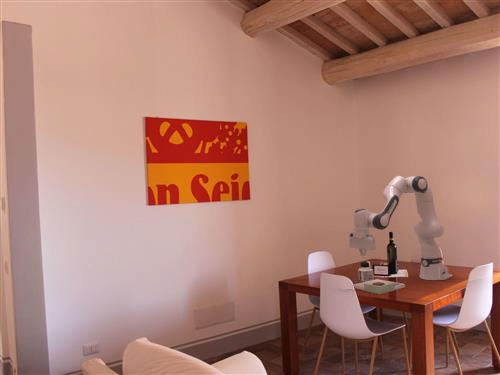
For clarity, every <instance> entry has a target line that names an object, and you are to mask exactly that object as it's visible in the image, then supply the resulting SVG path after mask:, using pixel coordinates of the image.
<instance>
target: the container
mask: <svg viewBox="0 0 500 375" xmlns="http://www.w3.org/2000/svg"><path fill="white" fill-rule="evenodd" d="M359 265H360V268H358V270H357V272H358V280H359V281H361V282H367V281H371V280H375V279H374V278H375V277H374V269H373V268H371V262H370V261H367V260H366V261H365V260H364V261H360V264H359Z"/></svg>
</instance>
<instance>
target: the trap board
mask: <svg viewBox="0 0 500 375" xmlns="http://www.w3.org/2000/svg"><path fill="white" fill-rule="evenodd" d="M376 282H381V283H384V285H382V286H376V285H373V283H376ZM353 285H354V287H355V288H354V289H357V290H361V291H364V292H367V293H373V294H378V295H382V294H386V293H391V292H394V291H396V290H400V289H404V288H406V284H405V283H400V282H395V281H389V280H384V279H378V278H377V279H374V280H371V281H367V282H363V281H361V282H359V283H354V284H353Z"/></svg>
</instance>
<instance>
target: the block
mask: <svg viewBox="0 0 500 375" xmlns="http://www.w3.org/2000/svg"><path fill="white" fill-rule="evenodd" d="M373 285H376V286H382V285H384V283H381V282H376V283H373Z"/></svg>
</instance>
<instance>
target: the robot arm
mask: <svg viewBox="0 0 500 375" xmlns="http://www.w3.org/2000/svg"><path fill="white" fill-rule="evenodd" d="M404 193H405V194H406V193H407V194H414V195H415V202H416V204H415V205H416V210H417V212H416V213H417V214H418V216H419V217H420V219H421V220H419V221H417V222H415V224H414V226H413V231H414V233H415V234H416V235H417V238H418V241H419V244H420V253H421V257H420V263H421V264H420V270H419V271H420V272H419V273H420V274H419V275H418V276H419V278H420V279H422V280H425V281H445V280H447V279H450V278H452V277H453V274H451V273H449V269H448V267H447V266H446V265H445V264H443V263H442V261H444V258H443V257H441V256H440V254H439V245H438V244H437V242H436V240H435V239H437V238H441V237H443V234H444V233H445V227H444V226H443V225H442V223H441V222H440V220H439V218H438V216H437V213H436V209H435V204H434V203H435V202H434V198H433V197H434V196H433V192H432V189H431V186H429V184H428V181H427V179H426V178H425V177H424V176H420V175H418V176H417V175H416V176H415V175H413V176H412V175H411V176H408V177H404V176H402V175H395V177H394V178H392V180H391V181H389V183H388V184H387V186H386V187H385V188H384V190H383V192H382V196H383V199H384V200H385V201H386V205H385V206H384V208H383V210H381V211H380V212H379V213H373V212H371V211H369V210H368V209H366V208H358V209H356V210H354V212H353V224H354V231H352V232H350V233H349V234H348V237H349V238H348V239H349V243H348V244H349V248H350V249H351V248H352V249H358V251H359V254H360V256H362V257H366V255H367V254H366V253H367V252H368V250H369V251H375V250H376V248H377V243H376V238H375V237H374V235H372V234H369V228H370V229H377V230H382V231H383V230H385V229H387V228H388V226H389V224H390V221H391V218H392V216H393V214H394V212H395V210H396V209H397V207H398V205H399V202H400V198H401V197H402V195H403V194H404Z"/></svg>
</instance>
